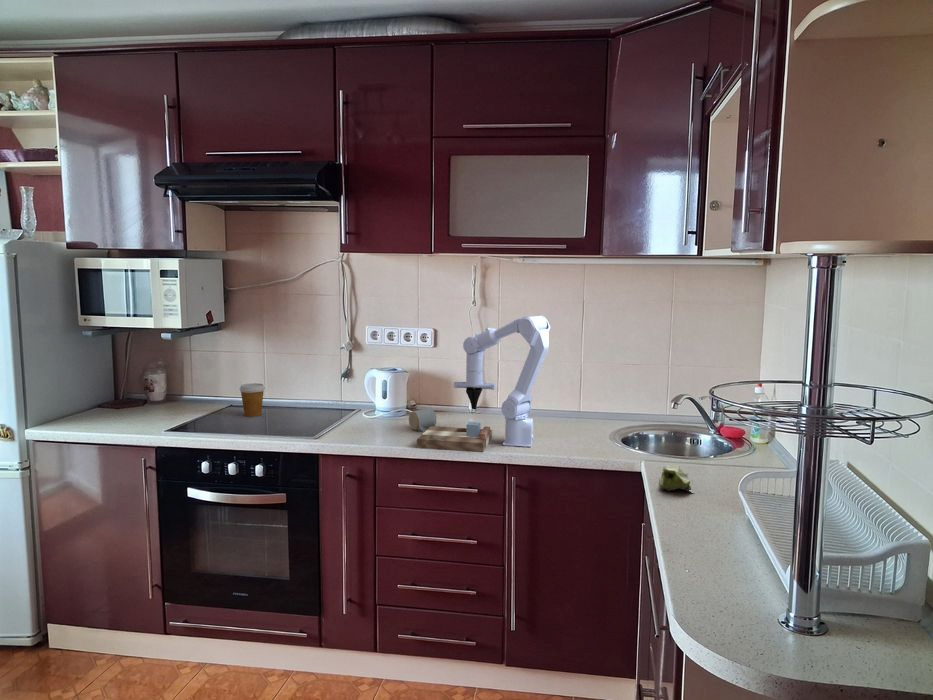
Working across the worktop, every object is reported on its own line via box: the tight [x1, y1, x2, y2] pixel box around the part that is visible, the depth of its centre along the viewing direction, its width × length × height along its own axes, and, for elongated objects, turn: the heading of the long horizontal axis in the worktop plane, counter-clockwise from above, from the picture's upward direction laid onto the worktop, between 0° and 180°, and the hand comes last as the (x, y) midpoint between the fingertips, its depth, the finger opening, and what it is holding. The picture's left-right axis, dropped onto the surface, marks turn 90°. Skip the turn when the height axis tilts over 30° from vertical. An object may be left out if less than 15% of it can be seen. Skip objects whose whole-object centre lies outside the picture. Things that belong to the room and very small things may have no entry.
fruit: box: [658, 464, 692, 492], centre depth 178 cm, size 9×9×8 cm
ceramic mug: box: [408, 407, 437, 433], centre depth 239 cm, size 11×8×8 cm
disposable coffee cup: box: [239, 382, 266, 418], centre depth 260 cm, size 10×10×12 cm
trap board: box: [416, 425, 493, 453], centre depth 223 cm, size 22×18×5 cm
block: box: [465, 421, 481, 437], centre depth 221 cm, size 4×4×4 cm
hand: (474, 408), depth 233 cm, fingers closed
